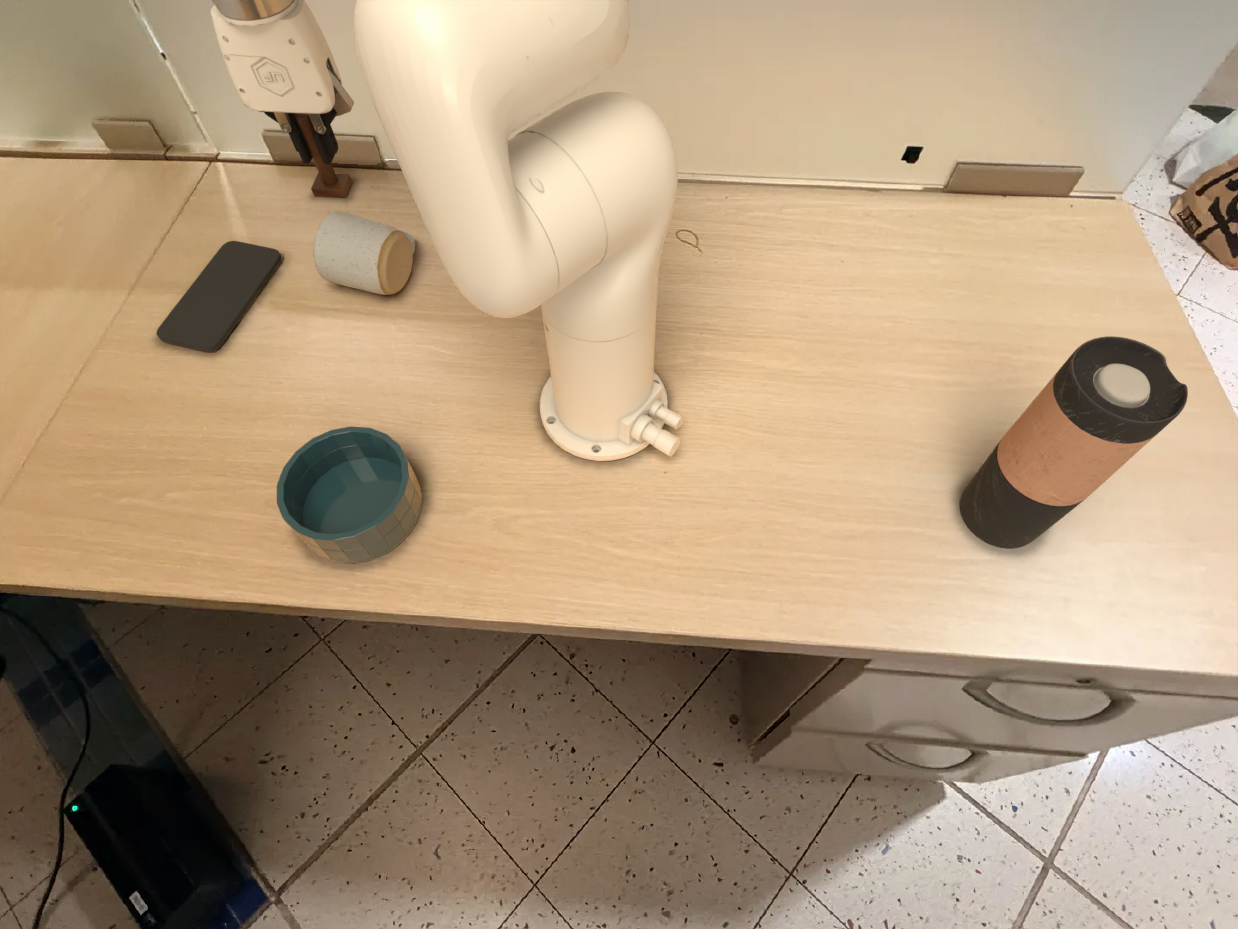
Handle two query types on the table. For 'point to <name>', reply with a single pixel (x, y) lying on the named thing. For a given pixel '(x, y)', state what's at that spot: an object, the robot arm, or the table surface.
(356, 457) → the bowl
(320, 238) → the ceramic mug
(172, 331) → the phone
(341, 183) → the wooden stamp
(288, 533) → the table surface
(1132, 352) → the travel mug
